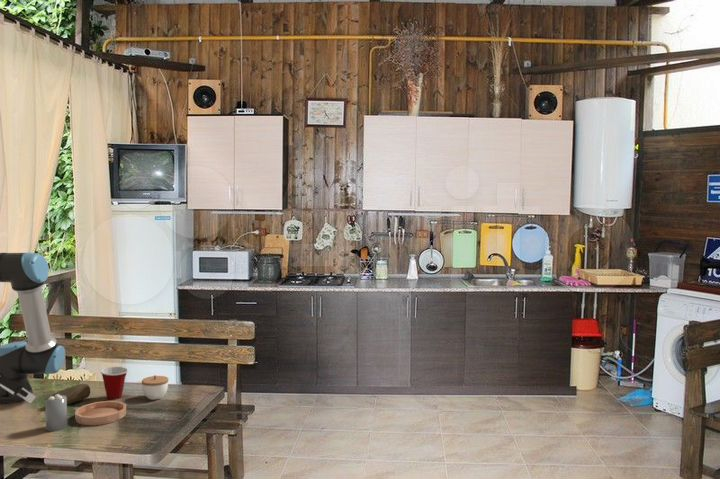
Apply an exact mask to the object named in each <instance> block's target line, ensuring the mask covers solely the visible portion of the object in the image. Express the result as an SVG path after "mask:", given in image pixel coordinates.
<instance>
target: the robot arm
mask: <svg viewBox="0 0 720 479" xmlns="http://www.w3.org/2000/svg"><path fill="white" fill-rule="evenodd" d="M49 271H50V269H49V264H48V261H47V259H46V258H45V257H44V255H42V254H40V253H36V252H35V253H34V252H33V253H32V252H0V283H10V286H11V289H12V290H13V291H14V292H17V297H18V301H19V306H20V311H21V315H22V320H23V323H24V324H23V325H24V327H25V334H26V337H27V341H23V340H21V341H14V342H9V343H5V344H2V345H0V405H1V404H4V405H5V403H6V404H14V402H15V403H20V402H23V401H26V402H27V403H29V404H32V403H33V401H34V400H35V399H36V395H35V394H34V389H33V387H32V385H31V382H30V380H29V376H28V375H50V374H52V375H53V374H57V373H59V371H60V370H61V369H62V368H63V365H64V362H65V360H66V359H65V358H66V349H65V347H64V346H62V345H58V341H57V339H56V338H55V337H53V336H52V333H51V328H50V327H51V326H50V322H49V317H48V312H47V308H46V307H47V306H46V304H45V299H44V294H43V289H42V288H43V286H44V285H45V282H46V281H47V280H48V277H49ZM27 342H28V343H27ZM19 401H20V402H19Z"/></svg>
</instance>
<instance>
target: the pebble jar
mask: <svg viewBox="0 0 720 479" xmlns="http://www.w3.org/2000/svg"><path fill="white" fill-rule="evenodd" d="M44 405H45V408H44V409H45V410H44V411H45V430H46V431H48V432H58V431H62V430H65V429H66V428H67V427H68V407H67V406H68V405H67V397H66V396H64V395H59V394H56V395H55V396H48V397H46V398H45V400H44Z"/></svg>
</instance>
